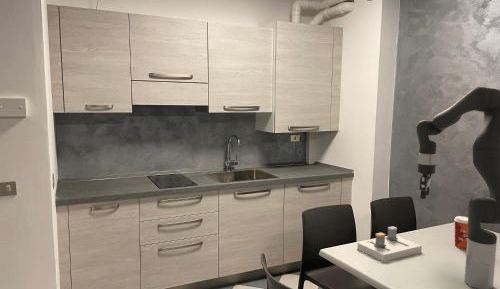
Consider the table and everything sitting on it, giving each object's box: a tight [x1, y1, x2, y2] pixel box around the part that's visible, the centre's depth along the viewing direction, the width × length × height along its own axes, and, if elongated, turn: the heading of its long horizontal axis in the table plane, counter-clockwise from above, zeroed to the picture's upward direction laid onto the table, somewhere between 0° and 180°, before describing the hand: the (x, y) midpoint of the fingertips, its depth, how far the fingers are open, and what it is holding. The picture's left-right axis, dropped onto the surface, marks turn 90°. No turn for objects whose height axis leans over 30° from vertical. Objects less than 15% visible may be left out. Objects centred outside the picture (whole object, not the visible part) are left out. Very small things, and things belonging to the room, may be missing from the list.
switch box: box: [357, 235, 423, 262], centre depth 171 cm, size 24×16×3 cm, turn 117°
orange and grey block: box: [374, 232, 386, 248], centre depth 168 cm, size 4×3×6 cm
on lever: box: [385, 225, 398, 241], centre depth 177 cm, size 4×3×6 cm
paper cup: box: [454, 215, 468, 250], centre depth 176 cm, size 8×8×14 cm
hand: (424, 196), depth 173 cm, fingers open, 8 cm apart
